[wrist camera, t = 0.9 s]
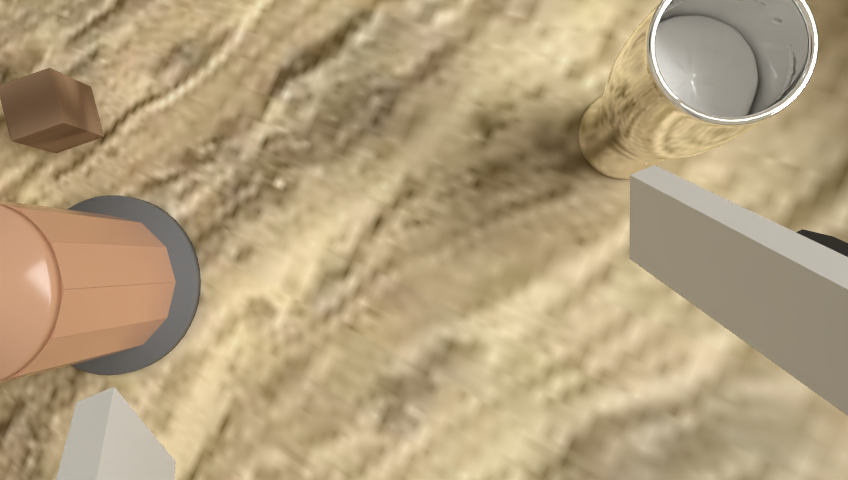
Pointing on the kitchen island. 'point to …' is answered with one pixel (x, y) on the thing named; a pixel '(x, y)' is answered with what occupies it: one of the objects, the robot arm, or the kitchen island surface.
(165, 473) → the robot arm
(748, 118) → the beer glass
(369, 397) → the kitchen island surface
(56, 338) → the lidded canister
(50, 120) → the walnut block
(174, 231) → the mat
